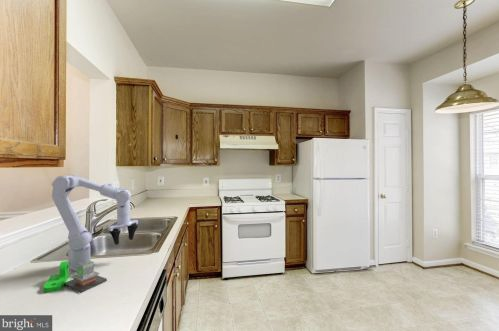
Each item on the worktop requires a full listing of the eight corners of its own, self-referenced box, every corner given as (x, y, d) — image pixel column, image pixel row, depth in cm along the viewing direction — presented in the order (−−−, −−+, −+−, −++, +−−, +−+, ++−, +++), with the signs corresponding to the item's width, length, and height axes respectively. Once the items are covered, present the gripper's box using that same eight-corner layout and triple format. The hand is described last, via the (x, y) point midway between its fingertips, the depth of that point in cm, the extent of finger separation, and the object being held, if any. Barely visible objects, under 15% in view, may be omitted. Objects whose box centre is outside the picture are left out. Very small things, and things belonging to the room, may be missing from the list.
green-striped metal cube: (77, 276, 96) (77, 263, 96) (88, 271, 99) (87, 260, 99) (83, 278, 94) (83, 265, 94) (93, 273, 98) (93, 261, 97)
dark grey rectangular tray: (63, 285, 95) (63, 276, 95) (89, 274, 104) (89, 267, 104) (80, 292, 90) (80, 283, 90) (106, 281, 99) (106, 272, 99)
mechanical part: (51, 280, 100) (51, 261, 100) (68, 277, 102) (68, 258, 102) (41, 294, 89) (40, 273, 89) (60, 290, 92) (60, 270, 91)
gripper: (114, 218, 108) (115, 247, 108) (141, 212, 121) (142, 238, 121) (105, 216, 111) (105, 245, 111) (132, 211, 124) (132, 236, 124)
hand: (123, 241), depth 116 cm, fingers open, 7 cm apart
